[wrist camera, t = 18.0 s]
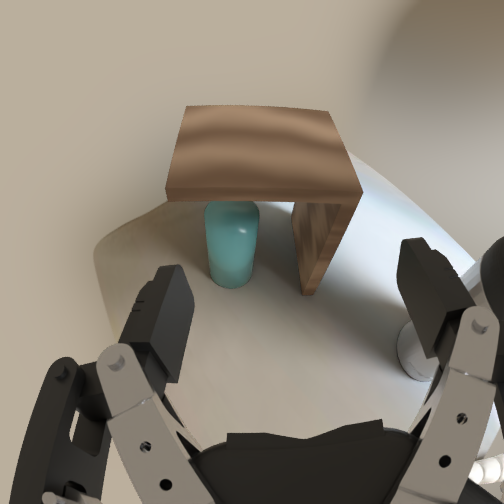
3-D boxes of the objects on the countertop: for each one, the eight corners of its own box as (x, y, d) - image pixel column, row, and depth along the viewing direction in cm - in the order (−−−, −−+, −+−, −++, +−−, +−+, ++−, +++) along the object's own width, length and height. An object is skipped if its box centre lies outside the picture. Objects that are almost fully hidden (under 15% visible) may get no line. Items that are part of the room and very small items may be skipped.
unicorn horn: (382, 451, 27) (402, 452, 23) (502, 453, 24) (523, 449, 20) (371, 487, 24) (390, 492, 20) (495, 480, 21) (516, 479, 17)
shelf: (313, 295, 38) (363, 192, 23) (191, 296, 37) (165, 188, 22) (300, 217, 45) (328, 111, 30) (197, 216, 44) (186, 106, 29)
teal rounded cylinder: (228, 244, 42) (229, 186, 33) (260, 267, 40) (270, 212, 31) (200, 271, 39) (192, 215, 30) (233, 296, 37) (235, 245, 28)
